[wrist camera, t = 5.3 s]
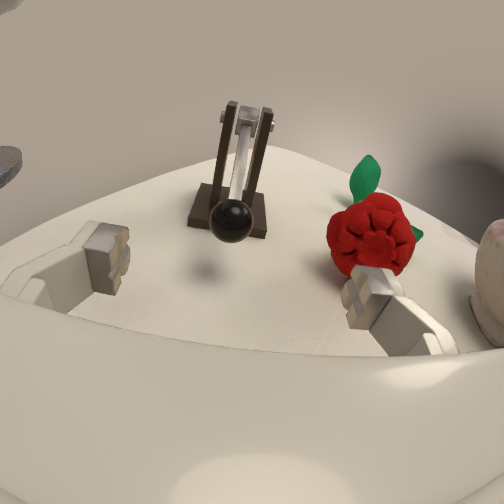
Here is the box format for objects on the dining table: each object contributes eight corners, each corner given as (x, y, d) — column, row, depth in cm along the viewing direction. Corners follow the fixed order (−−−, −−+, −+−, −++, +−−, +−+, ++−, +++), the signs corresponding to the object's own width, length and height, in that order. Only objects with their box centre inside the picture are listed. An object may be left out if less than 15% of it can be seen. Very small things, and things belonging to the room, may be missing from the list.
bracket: (264, 238, 34) (296, 122, 26) (187, 226, 33) (203, 105, 25) (261, 200, 42) (284, 109, 34) (200, 190, 41) (215, 96, 33)
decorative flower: (410, 223, 49) (430, 179, 44) (419, 329, 26) (470, 257, 21) (345, 193, 53) (362, 147, 47) (304, 276, 30) (338, 191, 24)
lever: (247, 254, 24) (255, 231, 21) (204, 247, 24) (206, 223, 21) (260, 129, 33) (266, 105, 30) (230, 123, 32) (235, 99, 29)
